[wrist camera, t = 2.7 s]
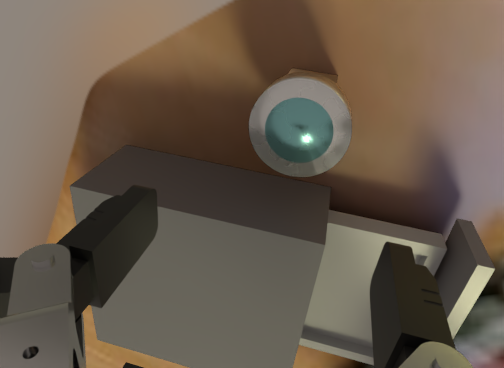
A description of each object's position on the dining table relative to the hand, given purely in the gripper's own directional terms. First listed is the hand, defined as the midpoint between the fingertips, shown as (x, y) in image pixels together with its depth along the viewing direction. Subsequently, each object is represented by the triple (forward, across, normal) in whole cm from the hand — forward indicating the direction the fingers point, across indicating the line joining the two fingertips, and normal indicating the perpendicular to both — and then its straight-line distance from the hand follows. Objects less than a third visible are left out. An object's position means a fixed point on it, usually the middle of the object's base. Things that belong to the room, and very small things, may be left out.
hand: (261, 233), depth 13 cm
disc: (+12, 0, 0) cm, 12 cm away
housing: (+16, +6, +15) cm, 23 cm away
